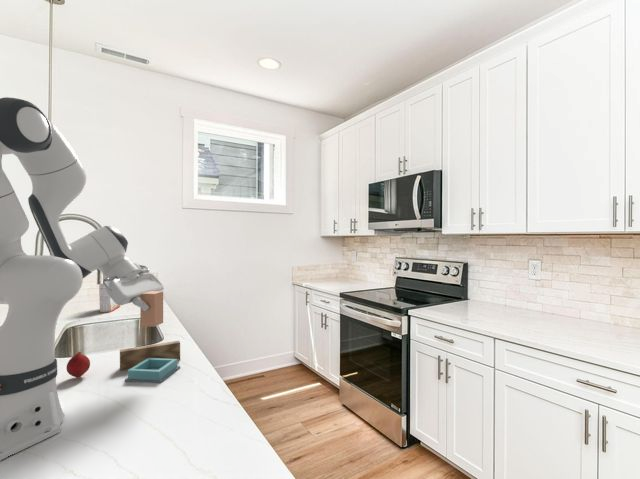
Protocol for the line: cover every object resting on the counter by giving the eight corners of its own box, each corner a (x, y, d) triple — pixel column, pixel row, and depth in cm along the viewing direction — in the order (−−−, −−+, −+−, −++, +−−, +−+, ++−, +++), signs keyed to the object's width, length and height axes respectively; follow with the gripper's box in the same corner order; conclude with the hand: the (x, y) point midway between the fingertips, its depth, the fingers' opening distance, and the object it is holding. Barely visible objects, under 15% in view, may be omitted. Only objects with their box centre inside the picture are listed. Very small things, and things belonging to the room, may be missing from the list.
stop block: (154, 326, 102) (154, 293, 102) (140, 326, 102) (140, 293, 102) (163, 322, 107) (163, 291, 107) (149, 322, 107) (149, 291, 107)
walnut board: (179, 357, 118) (179, 340, 118) (180, 359, 116) (180, 342, 116) (119, 368, 109) (119, 349, 109) (119, 370, 107) (119, 352, 107)
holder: (160, 383, 98) (160, 372, 98) (124, 381, 99) (124, 371, 99) (180, 367, 109) (180, 358, 109) (147, 366, 110) (147, 357, 110)
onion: (77, 382, 98) (77, 355, 98) (61, 381, 100) (61, 354, 99) (94, 374, 104) (94, 349, 104) (79, 373, 105) (79, 347, 105)
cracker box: (109, 307, 199) (109, 272, 199) (120, 306, 200) (120, 272, 200) (98, 312, 185) (98, 275, 185) (110, 312, 187) (110, 274, 186)
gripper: (107, 271, 95) (139, 306, 94) (150, 266, 115) (177, 294, 114) (92, 287, 95) (124, 322, 94) (138, 278, 116) (165, 307, 115)
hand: (153, 307), depth 104 cm, fingers closed on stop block, 5 cm apart
